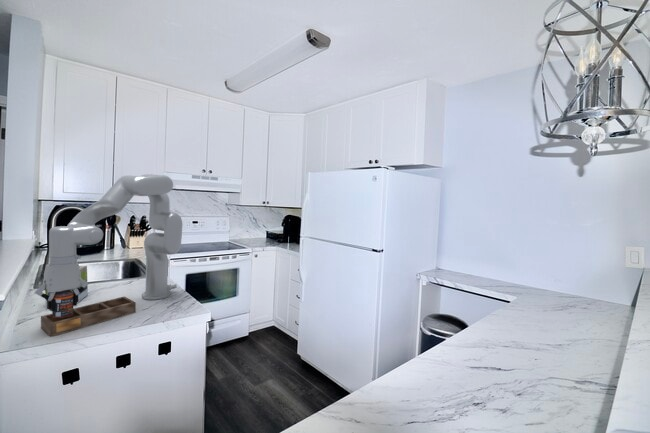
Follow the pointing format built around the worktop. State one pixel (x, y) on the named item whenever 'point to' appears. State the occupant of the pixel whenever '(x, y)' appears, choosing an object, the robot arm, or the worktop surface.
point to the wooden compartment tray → (88, 315)
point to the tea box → (85, 291)
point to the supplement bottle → (63, 304)
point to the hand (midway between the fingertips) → (63, 307)
